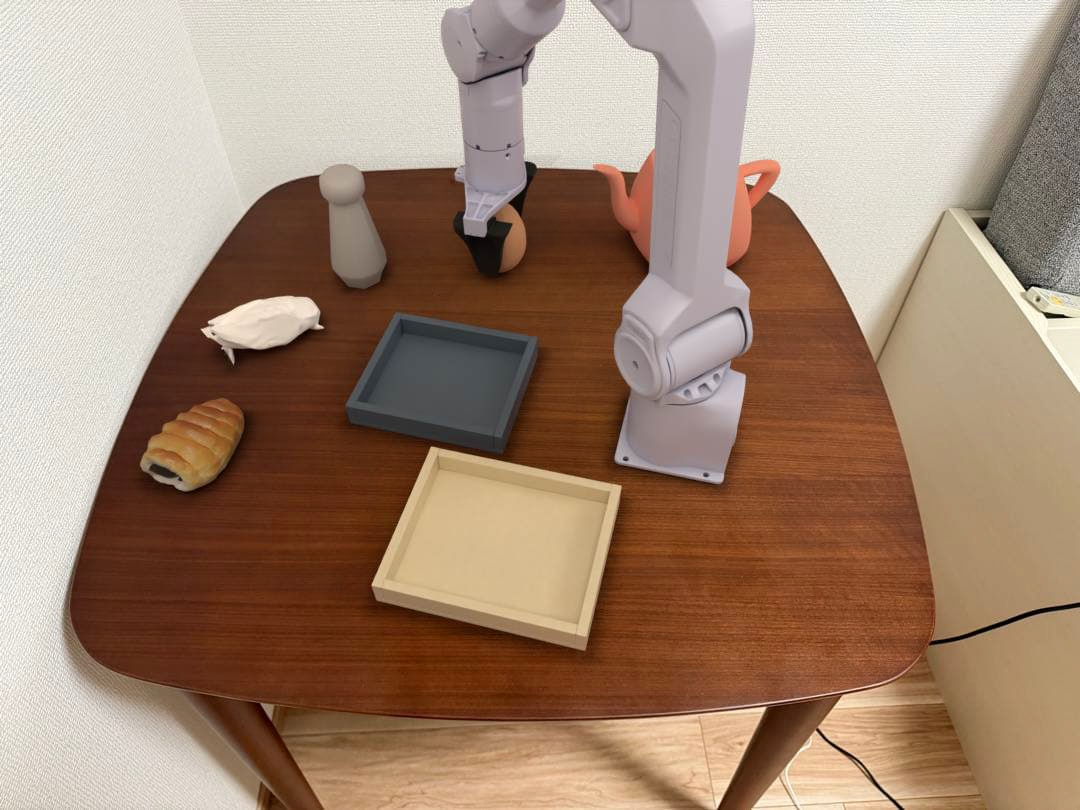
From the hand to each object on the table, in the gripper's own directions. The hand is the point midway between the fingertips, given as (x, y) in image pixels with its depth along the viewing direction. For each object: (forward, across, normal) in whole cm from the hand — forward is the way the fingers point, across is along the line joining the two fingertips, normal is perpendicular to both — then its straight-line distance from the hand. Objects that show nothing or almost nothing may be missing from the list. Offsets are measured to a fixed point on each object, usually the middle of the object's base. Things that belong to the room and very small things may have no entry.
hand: (499, 249), depth 87 cm
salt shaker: (+3, +5, -14) cm, 15 cm away
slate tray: (+2, +18, 0) cm, 18 cm away
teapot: (+3, -8, +18) cm, 20 cm away
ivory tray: (+2, +34, +10) cm, 35 cm away
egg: (+3, 0, 0) cm, 3 cm away
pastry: (+3, +31, -19) cm, 36 cm away
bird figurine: (+3, +16, -19) cm, 25 cm away
